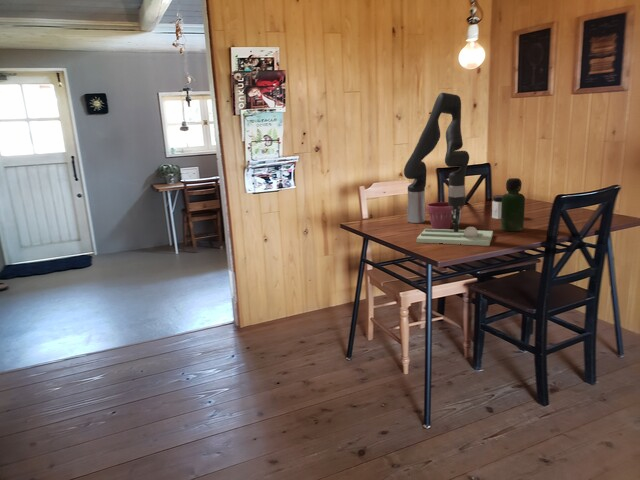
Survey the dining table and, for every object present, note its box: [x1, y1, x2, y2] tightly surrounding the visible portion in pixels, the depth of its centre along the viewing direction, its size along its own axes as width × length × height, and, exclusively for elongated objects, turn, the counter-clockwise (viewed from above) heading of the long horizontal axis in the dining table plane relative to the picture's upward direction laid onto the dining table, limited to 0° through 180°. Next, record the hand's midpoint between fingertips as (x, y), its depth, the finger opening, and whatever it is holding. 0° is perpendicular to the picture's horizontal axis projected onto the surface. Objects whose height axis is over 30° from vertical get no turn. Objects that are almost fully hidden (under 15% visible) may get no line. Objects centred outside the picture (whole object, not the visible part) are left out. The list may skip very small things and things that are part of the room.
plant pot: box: [426, 201, 453, 230], centre depth 242 cm, size 14×14×13 cm
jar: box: [491, 194, 504, 220], centre depth 259 cm, size 9×8×12 cm
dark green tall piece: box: [500, 177, 526, 232], centre depth 230 cm, size 10×10×25 cm
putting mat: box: [416, 228, 494, 247], centre depth 222 cm, size 32×20×3 cm, turn 66°
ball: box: [464, 226, 478, 238], centre depth 219 cm, size 6×6×6 cm
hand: (456, 231), depth 221 cm, fingers closed
